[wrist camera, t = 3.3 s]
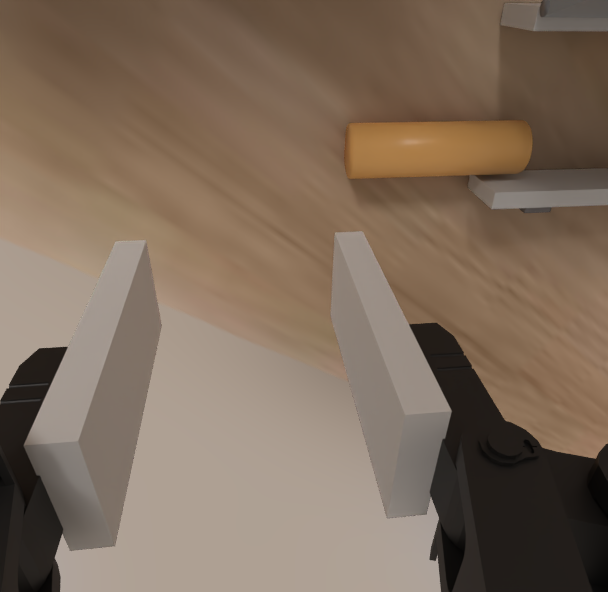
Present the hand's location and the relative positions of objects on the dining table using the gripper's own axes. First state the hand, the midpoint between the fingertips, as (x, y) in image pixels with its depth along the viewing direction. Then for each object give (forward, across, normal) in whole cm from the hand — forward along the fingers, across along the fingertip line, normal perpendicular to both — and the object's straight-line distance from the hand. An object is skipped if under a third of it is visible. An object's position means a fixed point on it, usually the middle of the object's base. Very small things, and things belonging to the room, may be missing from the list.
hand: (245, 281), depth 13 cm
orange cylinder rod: (+16, +11, 0) cm, 20 cm away
